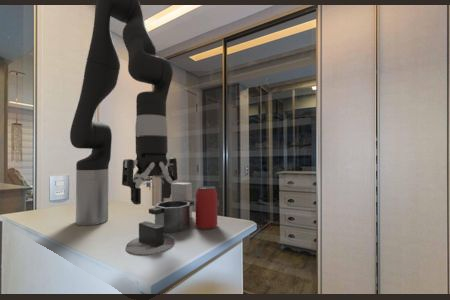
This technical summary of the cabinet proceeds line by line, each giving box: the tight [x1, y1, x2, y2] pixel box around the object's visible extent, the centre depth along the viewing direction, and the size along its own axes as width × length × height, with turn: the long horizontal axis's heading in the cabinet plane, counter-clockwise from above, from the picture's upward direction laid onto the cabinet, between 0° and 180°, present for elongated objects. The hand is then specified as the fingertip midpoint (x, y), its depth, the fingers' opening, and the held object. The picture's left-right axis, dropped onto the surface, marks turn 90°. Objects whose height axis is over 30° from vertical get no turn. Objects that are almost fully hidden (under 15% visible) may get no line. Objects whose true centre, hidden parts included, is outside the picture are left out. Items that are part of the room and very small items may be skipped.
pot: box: [148, 200, 195, 234], centre depth 69 cm, size 10×15×7 cm, turn 143°
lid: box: [125, 220, 175, 256], centre depth 56 cm, size 11×11×5 cm
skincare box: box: [171, 182, 193, 218], centre depth 80 cm, size 6×4×12 cm
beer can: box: [195, 185, 218, 230], centre depth 69 cm, size 7×7×12 cm
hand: (152, 200), depth 56 cm, fingers open, 8 cm apart
